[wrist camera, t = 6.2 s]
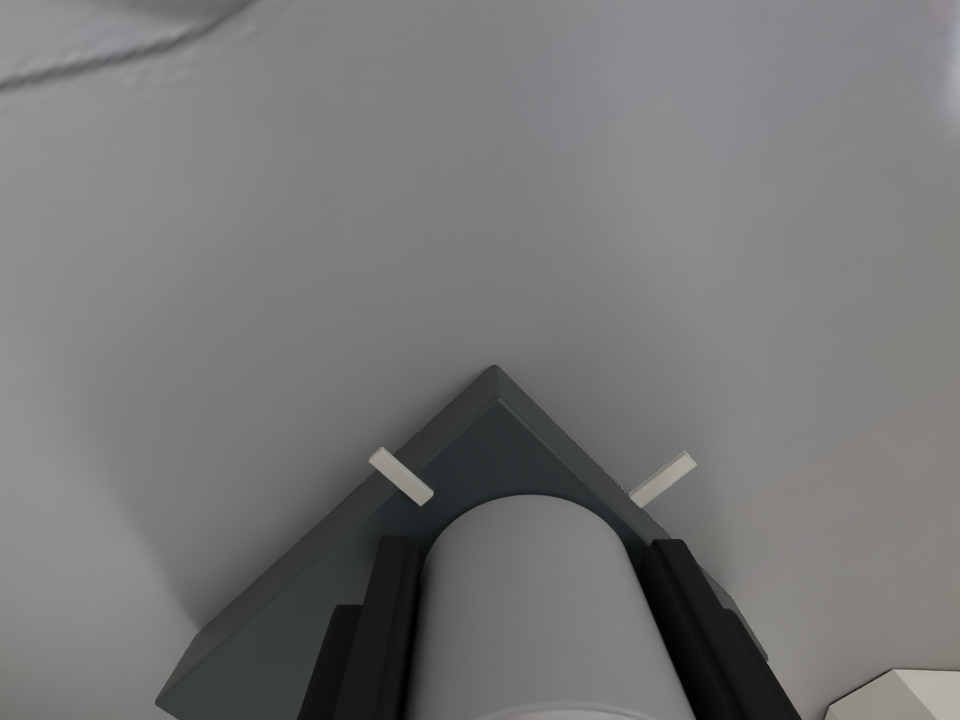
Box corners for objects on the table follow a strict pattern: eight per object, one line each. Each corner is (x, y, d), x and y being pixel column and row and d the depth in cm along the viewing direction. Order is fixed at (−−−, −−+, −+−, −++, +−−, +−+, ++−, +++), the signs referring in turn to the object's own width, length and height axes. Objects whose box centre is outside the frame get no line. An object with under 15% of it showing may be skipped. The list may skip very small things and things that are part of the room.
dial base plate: (530, 279, 11) (542, 300, 9) (788, 555, 13) (845, 621, 11) (170, 617, 14) (117, 692, 12) (436, 800, 16) (430, 889, 14)
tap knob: (672, 584, 11) (809, 859, 7) (520, 695, 12) (547, 1001, 8) (532, 451, 10) (581, 667, 6) (378, 582, 11) (310, 859, 7)
